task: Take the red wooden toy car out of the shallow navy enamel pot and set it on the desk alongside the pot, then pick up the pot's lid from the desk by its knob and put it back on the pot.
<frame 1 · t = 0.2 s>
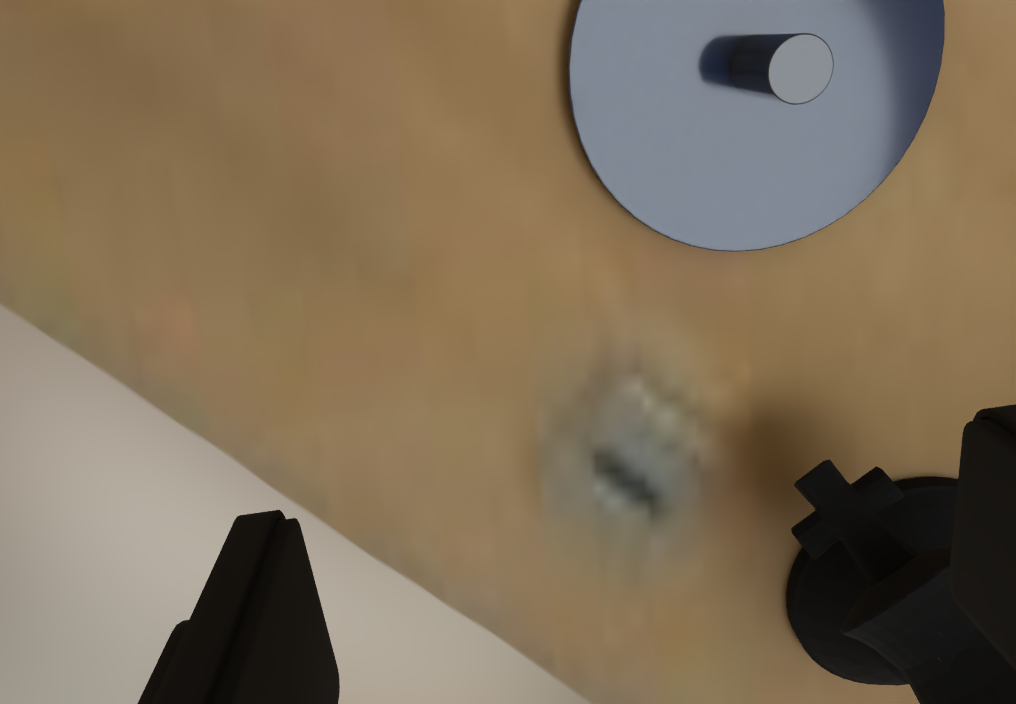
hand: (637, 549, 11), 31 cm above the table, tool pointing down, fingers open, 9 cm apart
sculpture: (866, 537, 50), on the table
lid: (753, 65, 38), point 1 cm above the table
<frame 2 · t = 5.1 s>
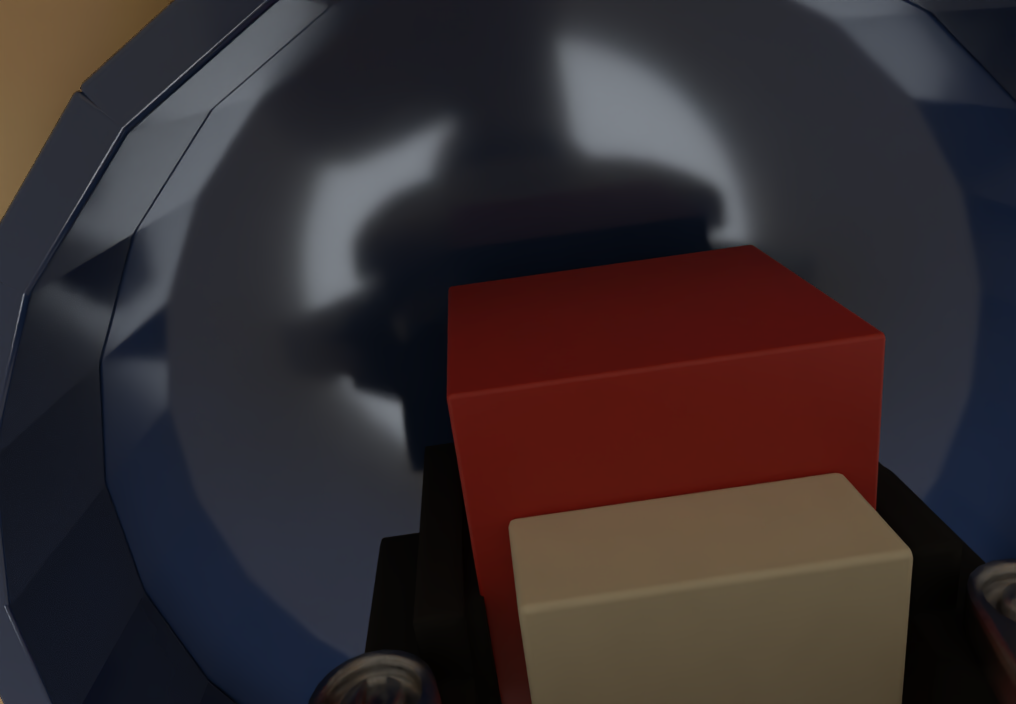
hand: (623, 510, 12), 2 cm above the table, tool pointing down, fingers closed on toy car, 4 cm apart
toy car: (608, 469, 13), point 1 cm above the table, touching gripper, pot
pot: (603, 455, 14), on the table
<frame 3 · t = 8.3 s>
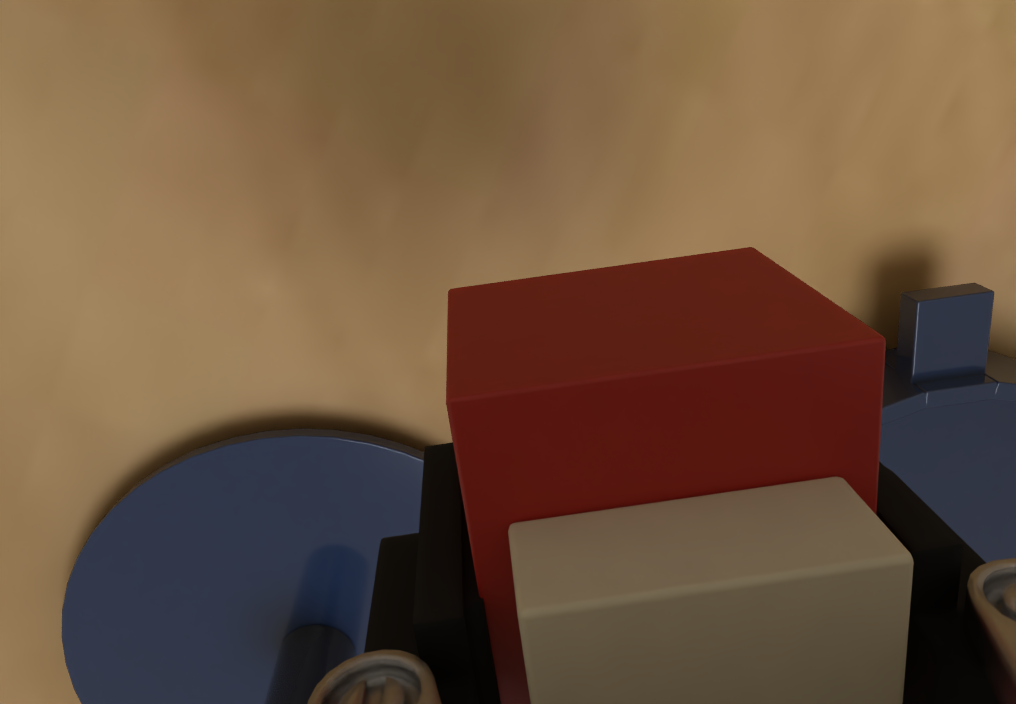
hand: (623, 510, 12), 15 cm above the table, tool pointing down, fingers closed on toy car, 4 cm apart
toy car: (608, 472, 13), point 13 cm above the table, touching gripper
pot: (887, 552, 31), on the table
lid: (320, 643, 30), point 1 cm above the table
when the fingers open (1 cm above the table, at t = 11.8 s): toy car stays where it is, on the table.
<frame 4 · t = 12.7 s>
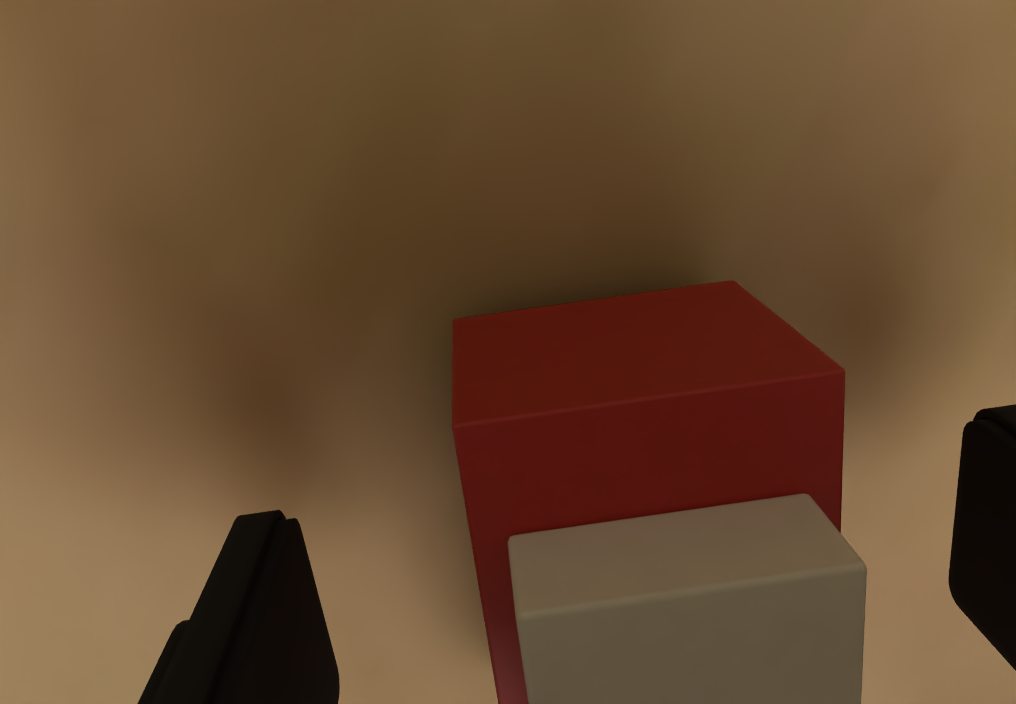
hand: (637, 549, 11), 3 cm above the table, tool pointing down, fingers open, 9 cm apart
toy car: (602, 487, 14), on the table
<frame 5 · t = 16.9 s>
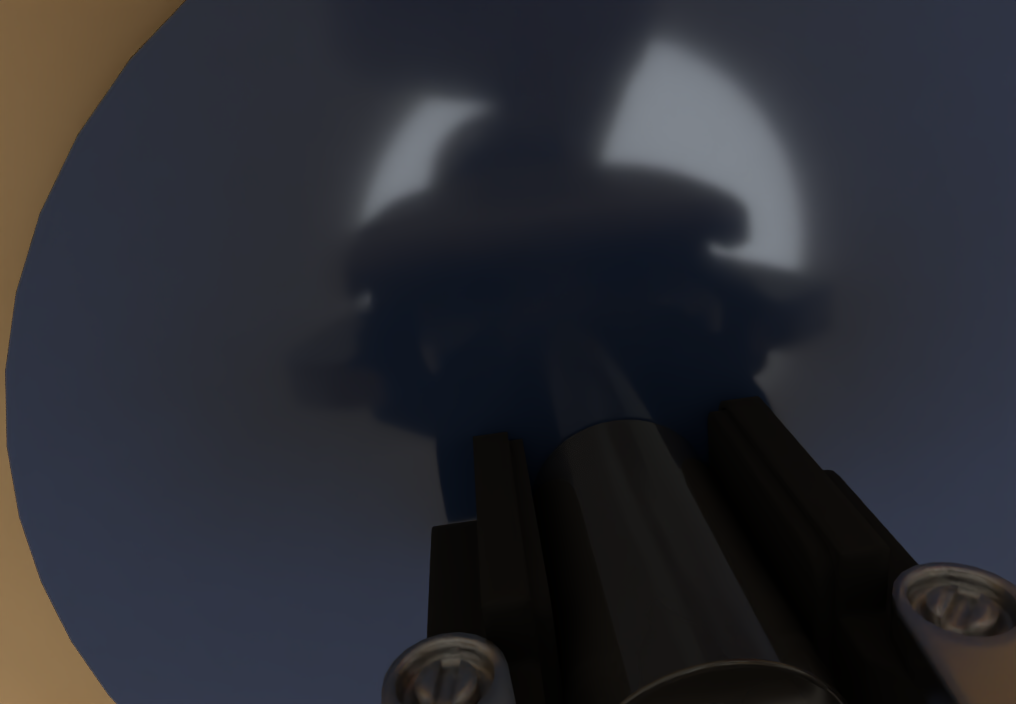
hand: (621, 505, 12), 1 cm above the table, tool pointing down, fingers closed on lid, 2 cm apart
lid: (612, 479, 13), point 1 cm above the table, touching gripper
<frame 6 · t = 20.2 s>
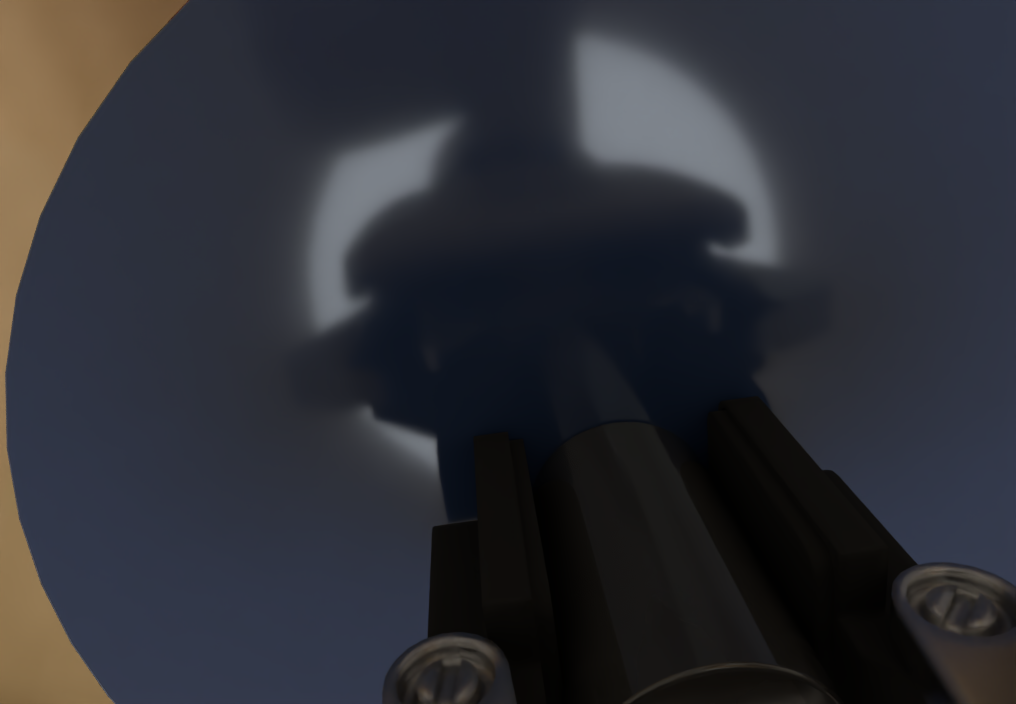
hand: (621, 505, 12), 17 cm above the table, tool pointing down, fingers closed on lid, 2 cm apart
lid: (612, 481, 13), point 16 cm above the table, touching gripper
when the fingers open (4 cm above the table, at t = 23.8 s): lid stays where it is, resting on pot.
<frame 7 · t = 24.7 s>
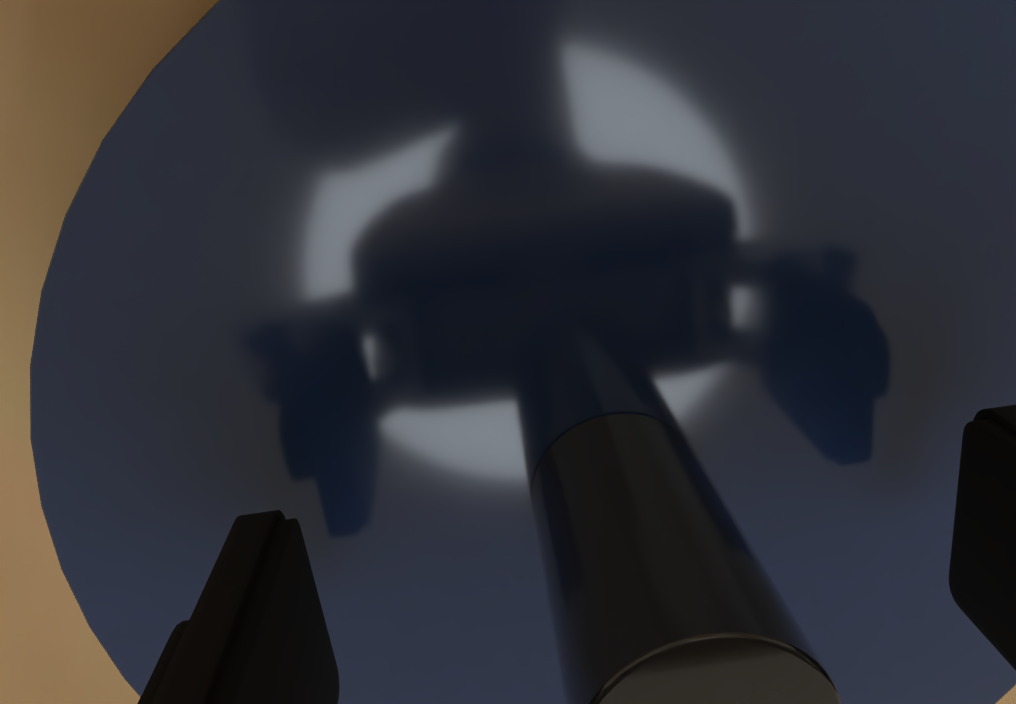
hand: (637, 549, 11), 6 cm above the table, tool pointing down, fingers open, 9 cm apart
lid: (610, 471, 13), point 3 cm above the table, touching pot
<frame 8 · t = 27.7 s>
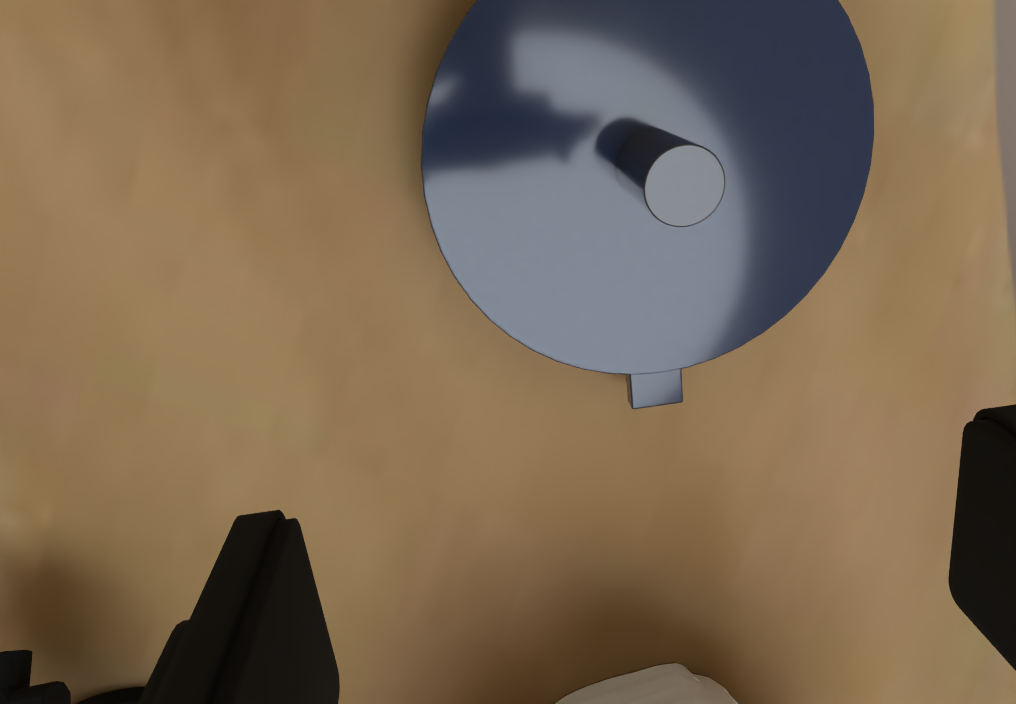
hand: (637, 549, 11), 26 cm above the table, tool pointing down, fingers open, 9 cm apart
pot: (628, 150, 35), on the table
lid: (646, 162, 32), point 3 cm above the table, touching pot
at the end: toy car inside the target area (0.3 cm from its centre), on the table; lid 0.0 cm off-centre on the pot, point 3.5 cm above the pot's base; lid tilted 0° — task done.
